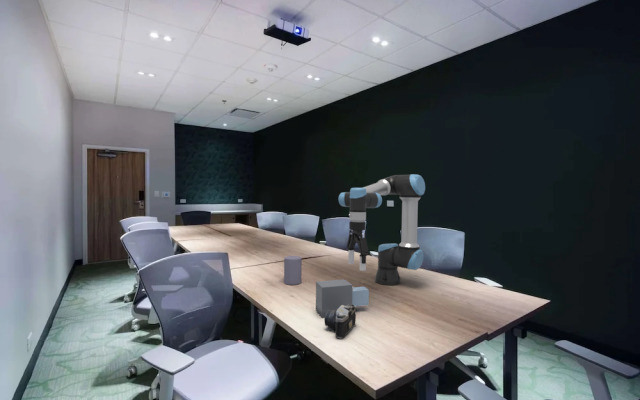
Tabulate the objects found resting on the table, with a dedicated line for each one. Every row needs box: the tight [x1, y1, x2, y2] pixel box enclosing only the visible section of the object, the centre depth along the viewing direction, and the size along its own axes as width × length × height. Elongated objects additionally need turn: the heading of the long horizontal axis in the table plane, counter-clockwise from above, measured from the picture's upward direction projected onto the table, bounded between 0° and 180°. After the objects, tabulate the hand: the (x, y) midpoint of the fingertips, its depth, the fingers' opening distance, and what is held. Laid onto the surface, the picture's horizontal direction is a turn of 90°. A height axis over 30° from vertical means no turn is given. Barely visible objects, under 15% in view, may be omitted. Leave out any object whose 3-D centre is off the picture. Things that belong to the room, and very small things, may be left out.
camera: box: [323, 304, 357, 340], centre depth 119 cm, size 16×10×10 cm, turn 155°
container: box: [283, 255, 303, 286], centre depth 180 cm, size 10×10×15 cm
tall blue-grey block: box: [352, 286, 370, 307], centre depth 138 cm, size 18×5×7 cm, turn 107°
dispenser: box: [315, 279, 354, 319], centre depth 136 cm, size 14×9×13 cm, turn 107°
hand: (356, 267), depth 140 cm, fingers open, 13 cm apart
